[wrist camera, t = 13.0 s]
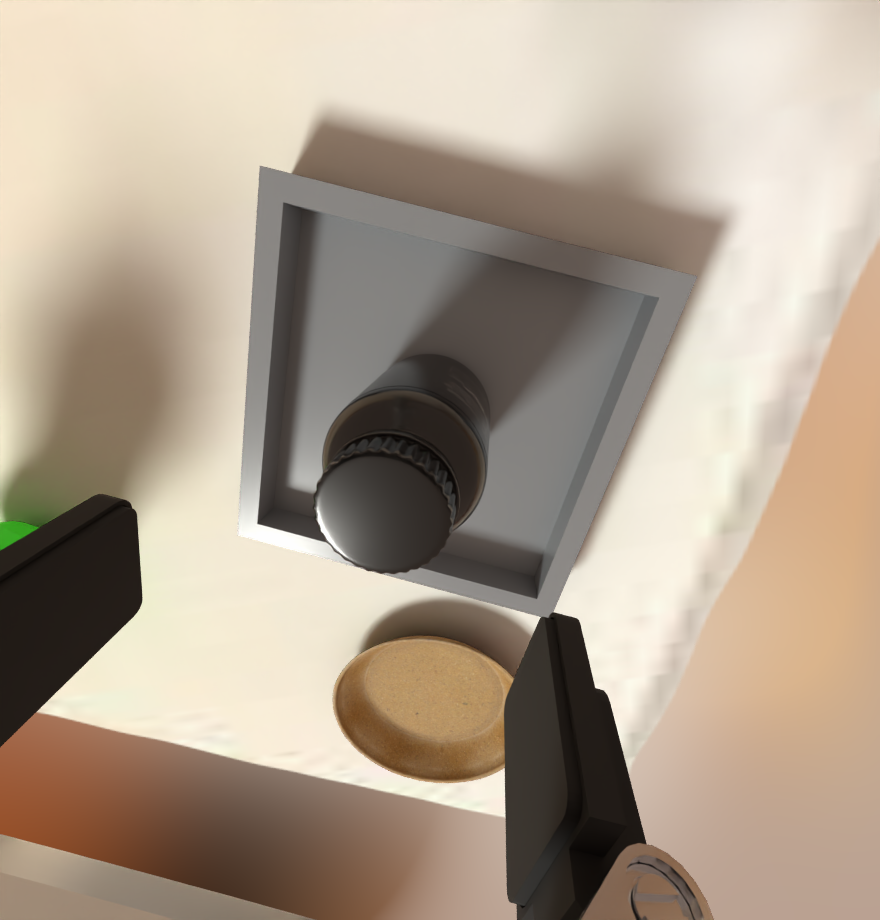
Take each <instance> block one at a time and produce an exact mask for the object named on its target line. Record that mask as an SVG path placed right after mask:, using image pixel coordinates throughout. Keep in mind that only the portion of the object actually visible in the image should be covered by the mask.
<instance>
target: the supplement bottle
mask: <svg viewBox="0 0 880 920" xmlns="http://www.w3.org/2000/svg"><path fill="white" fill-rule="evenodd" d="M490 421H491V420H490V405H489V400H488V397H487V394H486V391H485V389H484V387H483V385H482V384H481V382H480V381H479V379H478V378H477V377H476V375H475V374H474V373H473V372H472V371H471V370H470V369H468V368H467V367H466V366H465V365H463V364H462V363H460V362H458V361H456V360H454V359H452V358H449V357H446V356H443V355H438V354H419V355H414V356H410V357H408V358H405V359H403V360H401V361H399V362H397V363H395V364H394V365H392V366H391V367H390V368H389V369H387V370H386V371H385V372H384V373H383V374H382V375H380V376H379V377H378V378H377V379H376V380H375V381H374V382H373V383H371V384H370V385H369V386H368V387H367V388H366V389H365V390H364V391H362V392H361V393H360V394H359V395H358V396H357V397H356V398H355V399H354V400H352V401H351V402H350V403H349V404H348V405H347V406H346V407H345V408H344V409H343V410H342V411H341V412H340V414H339V415H338V416H337V417H336V419H335V420H334V422H333V423H332V425H331V426H330V429H329V431H328V433H327V436H326V439H325V442H324V446H323V453H322V468H323V474H322V477H321V478H320V479H319V480H318V482H317V486H316V489H317V490H316V491H315V492H314V494H313V498H314V504H313V510H314V512H315V521H316V523H317V524H318V525H319V532H320V533H321V534H322V535H323V536H324V538H325V541H326V543H327V544H329V545H330V546H331V547H332V549H333V550H334V552H336V553H337V554H339V555H341V557H342V558H343V559H344V560H346V561H349V562H351V563H352V564H353V565H355V566H356V567H362V568H364V569H365V570H367V571H375V572H377V573H380V574H384V573H389V574H397V573H399V572H400V573H407V572H409V571H410V570H416V569H419V568H420V567H421V566H422V565H425V564H428V563H429V562H430V561H431V559H432V558H434V557H436V556H438V555H439V552H440V550H441V549H442V548H444V547H445V546H446V544H447V539H448V538H449V536H450V535H451V533H452V532H453V531H454V530H456V529H457V528H458V527H460V526H461V525H462V524H463V523H464V522H465V521H466V520H467V519H468V518H469V517H470V516H471V515H472V513H473V512H474V511H475V509H476V508H477V506H478V504H479V502H480V500H481V498H482V495H483V492H484V489H485V485H486V479H487V470H488V454H489V438H490Z"/></svg>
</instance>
